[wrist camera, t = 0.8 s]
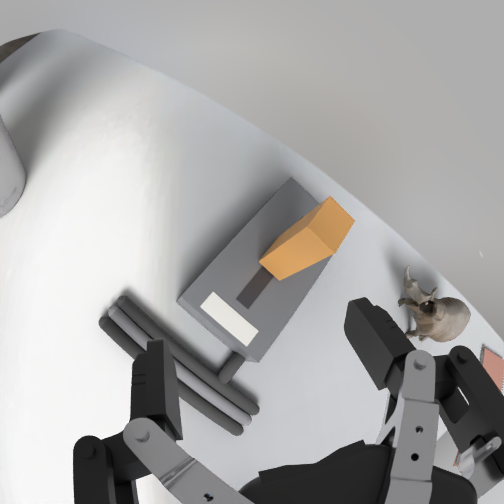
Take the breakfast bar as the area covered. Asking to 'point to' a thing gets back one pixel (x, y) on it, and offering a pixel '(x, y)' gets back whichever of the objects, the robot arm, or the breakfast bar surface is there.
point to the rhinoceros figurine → (434, 313)
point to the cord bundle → (184, 374)
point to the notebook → (496, 371)
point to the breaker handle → (308, 240)
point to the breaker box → (253, 280)
